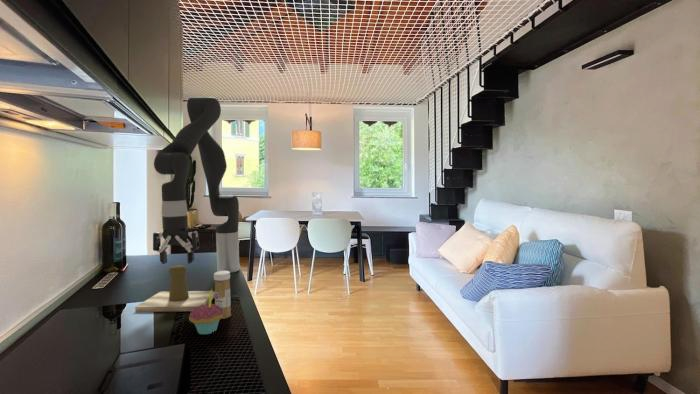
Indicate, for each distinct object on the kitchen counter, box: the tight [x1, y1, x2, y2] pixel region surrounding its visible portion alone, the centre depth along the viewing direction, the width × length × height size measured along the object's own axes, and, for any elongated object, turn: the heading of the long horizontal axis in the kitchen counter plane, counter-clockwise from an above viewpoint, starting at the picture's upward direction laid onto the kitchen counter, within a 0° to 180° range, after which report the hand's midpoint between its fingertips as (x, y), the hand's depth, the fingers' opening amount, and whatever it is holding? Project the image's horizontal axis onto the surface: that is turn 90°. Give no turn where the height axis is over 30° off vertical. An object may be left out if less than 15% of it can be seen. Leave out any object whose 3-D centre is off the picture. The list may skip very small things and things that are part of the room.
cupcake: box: [188, 288, 223, 335], centre depth 99 cm, size 9×8×12 cm
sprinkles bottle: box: [213, 271, 232, 320], centre depth 109 cm, size 5×5×13 cm
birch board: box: [134, 290, 215, 313], centre depth 122 cm, size 15×20×2 cm
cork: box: [168, 264, 189, 302], centre depth 121 cm, size 6×6×11 cm
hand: (177, 263), depth 121 cm, fingers open, 8 cm apart
